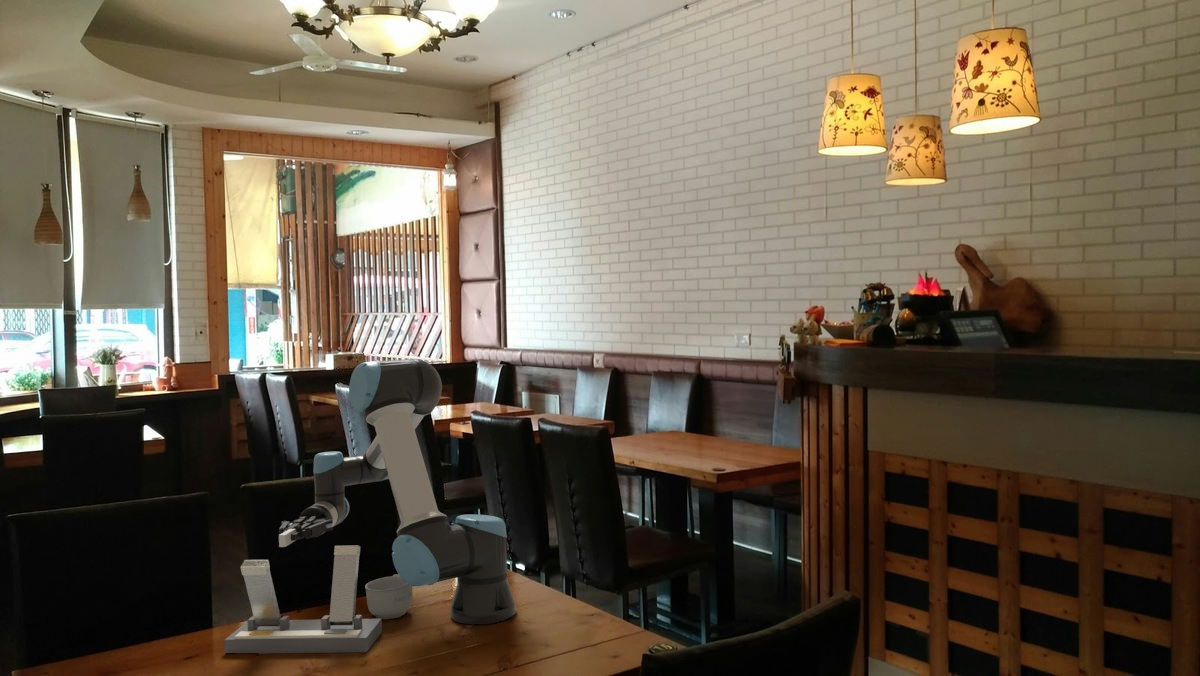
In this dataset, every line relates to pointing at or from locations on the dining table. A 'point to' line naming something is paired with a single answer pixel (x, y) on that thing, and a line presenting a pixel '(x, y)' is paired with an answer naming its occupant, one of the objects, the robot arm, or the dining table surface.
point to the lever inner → (344, 585)
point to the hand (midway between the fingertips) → (282, 540)
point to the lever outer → (261, 592)
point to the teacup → (389, 597)
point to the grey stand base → (304, 636)
